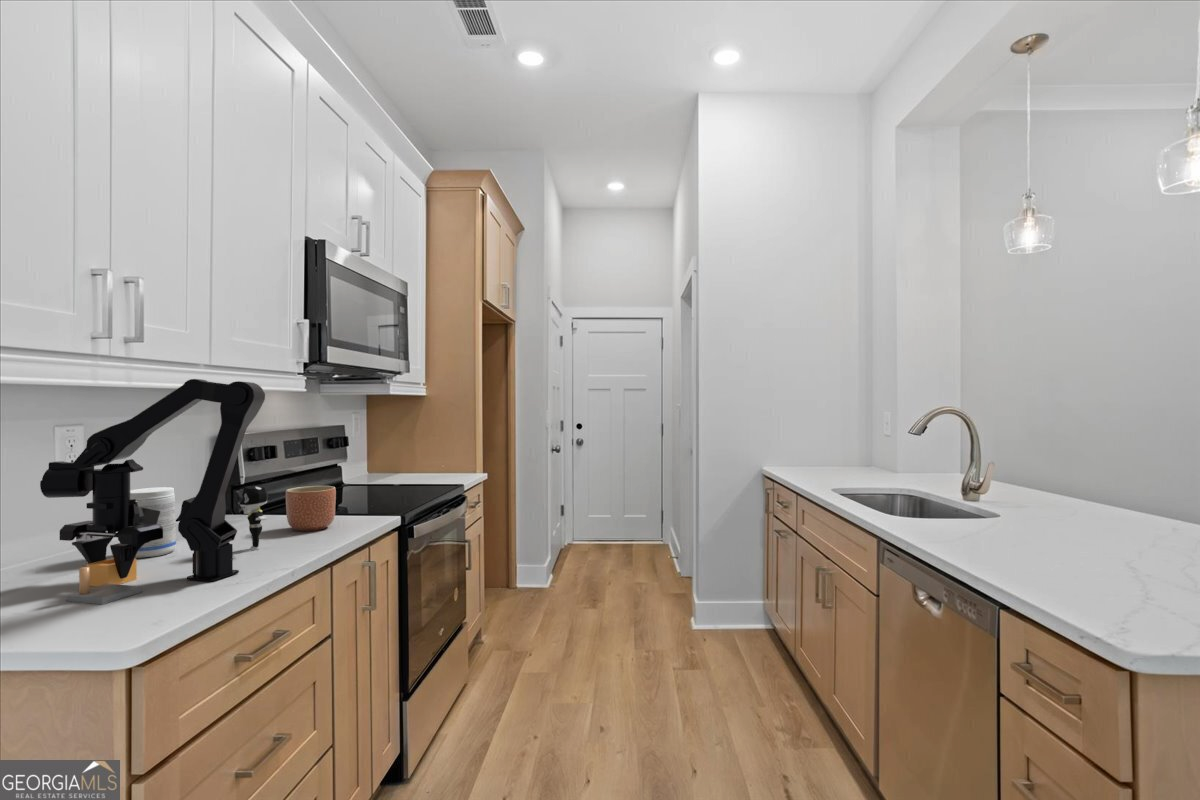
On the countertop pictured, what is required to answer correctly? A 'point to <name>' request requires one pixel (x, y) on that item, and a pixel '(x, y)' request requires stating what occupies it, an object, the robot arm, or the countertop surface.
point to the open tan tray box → (109, 573)
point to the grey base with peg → (100, 590)
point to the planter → (310, 507)
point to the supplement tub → (162, 502)
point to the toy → (254, 510)
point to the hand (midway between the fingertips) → (111, 576)
